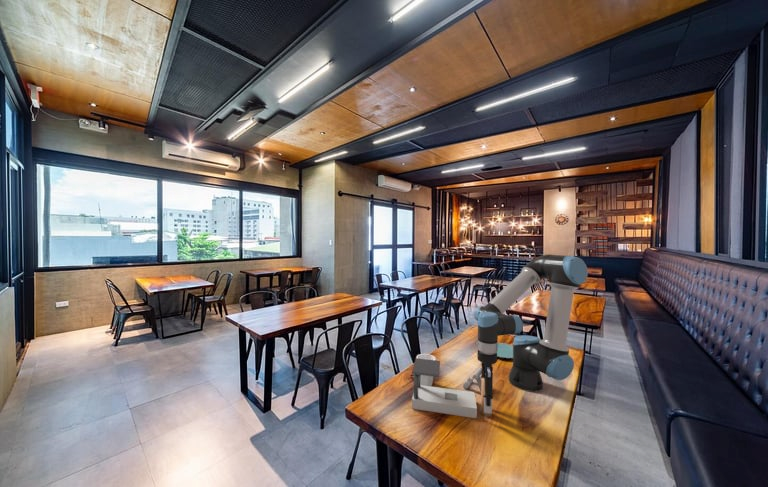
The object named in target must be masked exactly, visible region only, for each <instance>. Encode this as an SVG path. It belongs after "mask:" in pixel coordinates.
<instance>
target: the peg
mask: <svg viewBox="0 0 768 487" xmlns="http://www.w3.org/2000/svg"><path fill="white" fill-rule="evenodd" d="M481 380H482V381H481V391H480V392H481V393H480V394H481V396H480V397H481V398H480V414H481V415H482V416H483V417H486V418H490V417H492V414H489V413H484V397H483V395H485V380H484V378H482V379H481Z"/></svg>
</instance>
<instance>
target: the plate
mask: <svg viewBox="0 0 768 487" xmlns="http://www.w3.org/2000/svg"><path fill="white" fill-rule="evenodd" d="M496 353H497V358H498V357H499V358H498V359H504V358H506V360H510V358H511V359H513V344H512V345H511V344H509V343H502V342H498V347H497V352H496Z"/></svg>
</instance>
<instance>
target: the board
mask: <svg viewBox="0 0 768 487" xmlns="http://www.w3.org/2000/svg"><path fill="white" fill-rule="evenodd" d="M476 399H477V398H476V394H475V392H474V391H467V390H463V389H462V390H461V389H459V390H458V389H455V388H454V389H452V388H445V387H439V386H424V385H421V387H420V388H418V399H414V391H413V392H412V397H411V409H412V410H419V411H424V412H426V411H427V412H432V413H439V414H445V415H453V416H459V417H466V418H472V419H478V418H477V417H478V416H477V415H478V407H477V400H476Z"/></svg>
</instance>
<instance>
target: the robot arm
mask: <svg viewBox="0 0 768 487" xmlns="http://www.w3.org/2000/svg"><path fill="white" fill-rule="evenodd" d="M588 274H589V272H588V267H587V264H586V263H585V261H584V259H582V258H580V257H577V256H572V255H558V254H543V255H540V256H537V257H536V258H533V259H532V260H531V261H529V262H528V263H527V264H525V265H524V266H523V267H522V268H521V272H520V273H519V274H518V275H516V277H515V278H514V279H513V280H512V281H510V282H509V283H508V284H507V285H506V286H505V287H504V288H502V290H501V291H500V292H498V294H496V295H494V297H493V298H492V299H491V300H490V301H489V302H487V304H486V305H480V306H477V307H475V309H474V311H473V317H474V319H475V320H476V321H477V341H476V342H475V344H476V345H477V360H478V361H479V362H480V363H481V368H482V372H481V375H480V378H481V381H482V378H484V380H485V395H483V397H484V413H489V414H491V415H492V413H493V412H492V411H493V410H492V408H493V407H492V406H493V399H494V395H493V394H494V392H493V389H494V388H493V387H494V385H493V383H494V382H493V375H494V373H493V371H494V366H492V365H494V364H496V363H497V362H498V357H497V353H496V352H497V347H498V343H499V342H498V341H499V340H498V337H499V336H500V337H501V336H506V335H515V334H519V333H521V332H523V328H524V325H523V324H524V323H523V320H522V318H521V317H520V316H519V315H517V314H504V313H505V312H506V311H507V310H508V309H510V307H512V305H513V304H514V303H516V302H517V301H518V300H519V298H521V297H522V296H523V295H524V294H525V293H526V292H527V291H528V290H529V289H530V288H531V287H532V286H533V285H535V284H539V283H540V282H541V281H542V280H546V279H548V284H549V286H550V287H551V288H550V295H549V300H548V301H549V302H548V306H547V315H546V320H545V321H546V322H545V327H544V333H543V334H544V335H543V339H540V338H539V337H537V336H533V335H522V334H521V335H516V336H514V338H513V344H512V346H513V358H512V367H511V369H510V371H509V374H508V382H509V384H511V385H512V386H514V387H515V388H517V389H520V390H522V391H526V392H527V391H528V392H540V391H541V390H543V388H544V381H543V377H542V375H541V373H543V374H544V375H546V376H547V377H548V378H551V379H554V380H556V381H562V380H563V381H564V380H565V379H566V378H569V377H570V375H571V374H572V372H573V370H574V368H575V361H574V359H573V357H572V356H570V355H569V353H570V349H569V348H568V346H567V339H568V333H569V332H568V331H569V325H570V319H571V311H572V306H573V305H572V304H573V299H574V293H575V291H576V290H578V289H579V287H580V285H581V284H584V283H585V282H586V281H587V279H588Z"/></svg>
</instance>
